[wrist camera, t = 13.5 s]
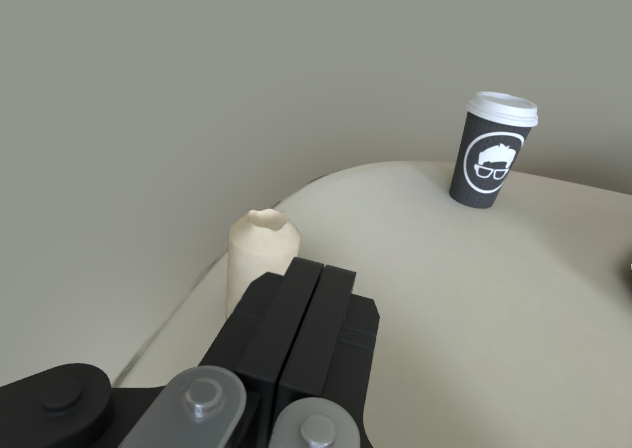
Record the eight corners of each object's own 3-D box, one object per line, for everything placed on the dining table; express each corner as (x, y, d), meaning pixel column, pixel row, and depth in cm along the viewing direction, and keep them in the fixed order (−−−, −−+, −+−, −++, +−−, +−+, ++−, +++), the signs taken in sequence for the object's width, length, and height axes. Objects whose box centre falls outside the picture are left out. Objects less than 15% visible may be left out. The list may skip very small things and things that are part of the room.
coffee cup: (512, 202, 66) (553, 105, 59) (487, 220, 60) (529, 114, 52) (456, 178, 72) (487, 87, 64) (427, 193, 65) (458, 92, 57)
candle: (262, 348, 35) (273, 246, 30) (211, 317, 37) (214, 216, 32) (300, 312, 39) (316, 217, 34) (253, 286, 41) (261, 193, 36)
